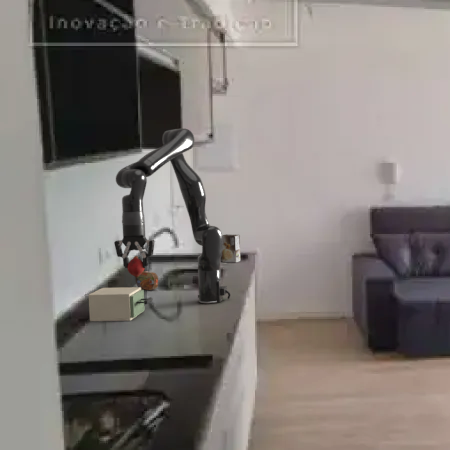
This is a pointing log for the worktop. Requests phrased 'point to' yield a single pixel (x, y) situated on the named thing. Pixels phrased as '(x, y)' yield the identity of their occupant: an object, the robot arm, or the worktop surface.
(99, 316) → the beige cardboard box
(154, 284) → the tin
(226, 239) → the coffee box
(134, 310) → the green drawer
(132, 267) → the onion
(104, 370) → the worktop surface
